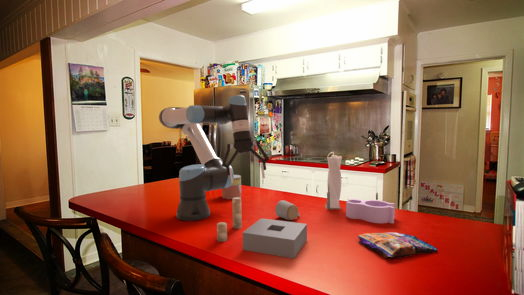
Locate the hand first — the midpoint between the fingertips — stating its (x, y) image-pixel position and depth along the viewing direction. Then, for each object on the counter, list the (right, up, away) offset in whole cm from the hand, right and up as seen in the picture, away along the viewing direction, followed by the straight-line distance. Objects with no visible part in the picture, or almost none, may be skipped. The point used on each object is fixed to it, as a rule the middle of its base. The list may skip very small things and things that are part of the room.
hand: (248, 180), depth 126 cm
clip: (+54, -18, +6) cm, 57 cm away
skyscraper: (+42, -17, +24) cm, 51 cm away
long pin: (-4, -19, -4) cm, 20 cm away
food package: (+53, -21, -25) cm, 62 cm away
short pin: (-9, -20, -17) cm, 28 cm away
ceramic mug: (+18, -18, +7) cm, 26 cm away
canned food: (-12, -15, +48) cm, 51 cm away
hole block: (+11, -20, -22) cm, 32 cm away
